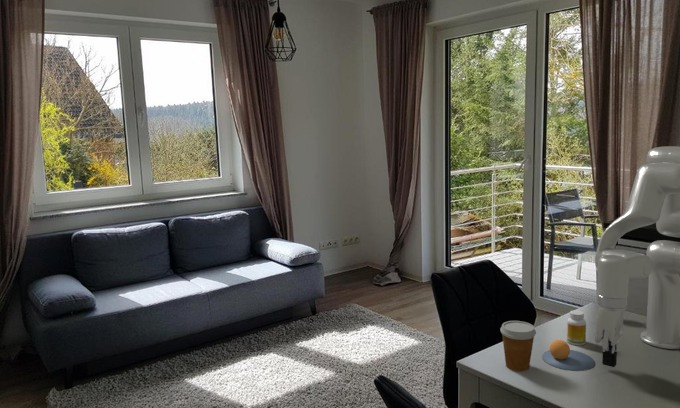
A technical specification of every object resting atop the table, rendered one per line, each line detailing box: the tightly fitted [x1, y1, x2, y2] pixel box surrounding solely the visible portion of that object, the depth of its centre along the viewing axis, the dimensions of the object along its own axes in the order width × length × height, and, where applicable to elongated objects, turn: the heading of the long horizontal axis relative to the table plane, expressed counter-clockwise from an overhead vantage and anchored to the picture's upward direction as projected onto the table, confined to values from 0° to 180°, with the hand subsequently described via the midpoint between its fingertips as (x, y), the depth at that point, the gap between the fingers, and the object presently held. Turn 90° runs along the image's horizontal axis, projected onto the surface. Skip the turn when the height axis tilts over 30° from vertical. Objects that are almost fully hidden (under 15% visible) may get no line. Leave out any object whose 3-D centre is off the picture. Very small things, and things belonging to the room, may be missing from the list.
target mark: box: [541, 349, 596, 372], centre depth 154 cm, size 14×14×1 cm
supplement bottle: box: [566, 310, 587, 346], centre depth 165 cm, size 5×5×10 cm
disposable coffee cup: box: [499, 320, 537, 372], centre depth 150 cm, size 10×10×12 cm
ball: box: [549, 339, 571, 360], centre depth 154 cm, size 6×6×6 cm
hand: (609, 364), depth 147 cm, fingers closed
